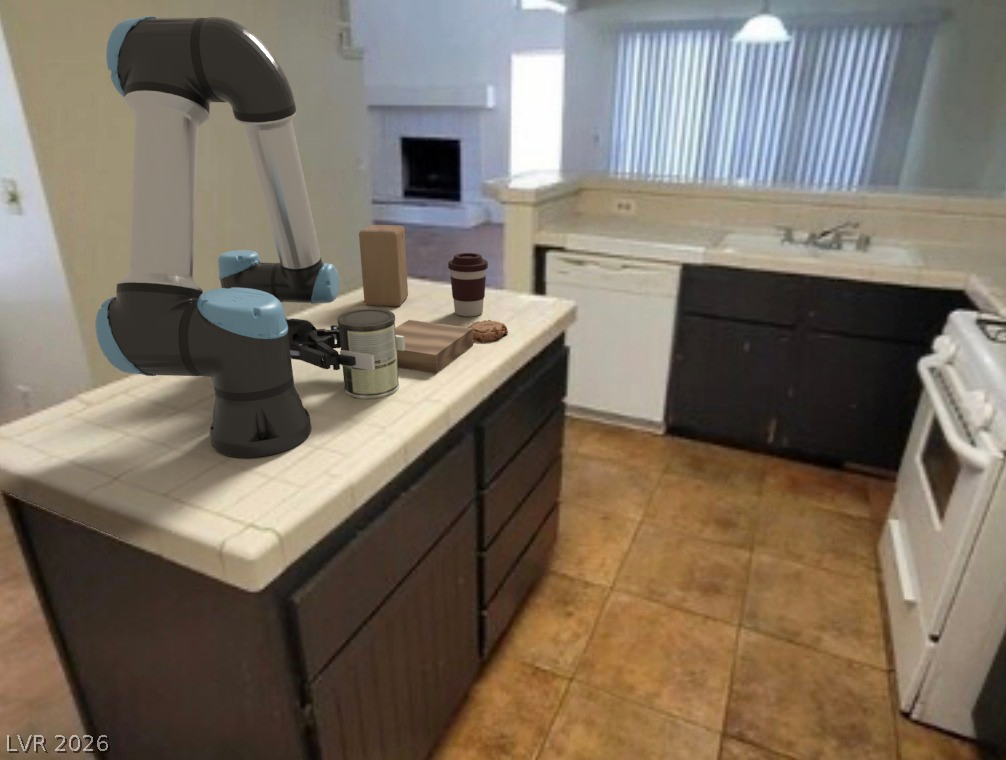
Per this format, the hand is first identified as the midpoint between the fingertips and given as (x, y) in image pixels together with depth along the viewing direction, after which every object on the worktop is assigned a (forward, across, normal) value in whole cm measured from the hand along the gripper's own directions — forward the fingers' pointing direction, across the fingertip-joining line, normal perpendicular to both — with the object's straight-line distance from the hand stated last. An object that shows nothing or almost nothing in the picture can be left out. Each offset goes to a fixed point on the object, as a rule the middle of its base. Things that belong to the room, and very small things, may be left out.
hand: (389, 352), depth 117 cm
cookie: (+4, -37, -8) cm, 38 cm away
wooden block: (-32, -52, -8) cm, 62 cm away
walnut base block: (-4, -20, -8) cm, 22 cm away
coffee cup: (-7, -51, -8) cm, 52 cm away
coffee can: (-4, 0, -8) cm, 9 cm away
